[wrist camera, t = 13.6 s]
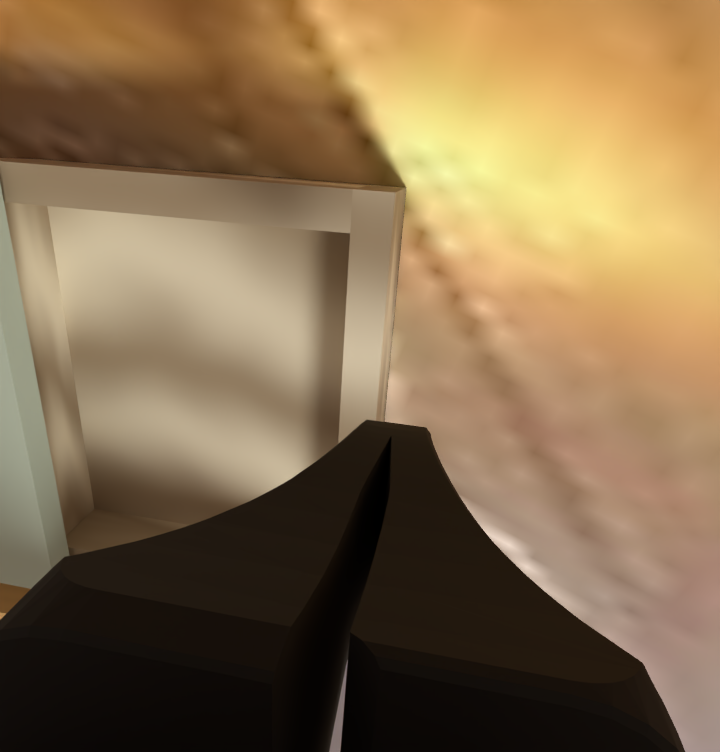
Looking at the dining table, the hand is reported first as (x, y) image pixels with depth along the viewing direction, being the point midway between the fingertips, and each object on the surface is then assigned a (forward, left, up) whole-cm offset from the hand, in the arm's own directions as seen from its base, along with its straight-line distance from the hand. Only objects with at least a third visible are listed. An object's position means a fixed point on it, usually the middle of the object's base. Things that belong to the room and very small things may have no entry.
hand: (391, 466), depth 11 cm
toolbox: (-3, +8, -9) cm, 13 cm away
